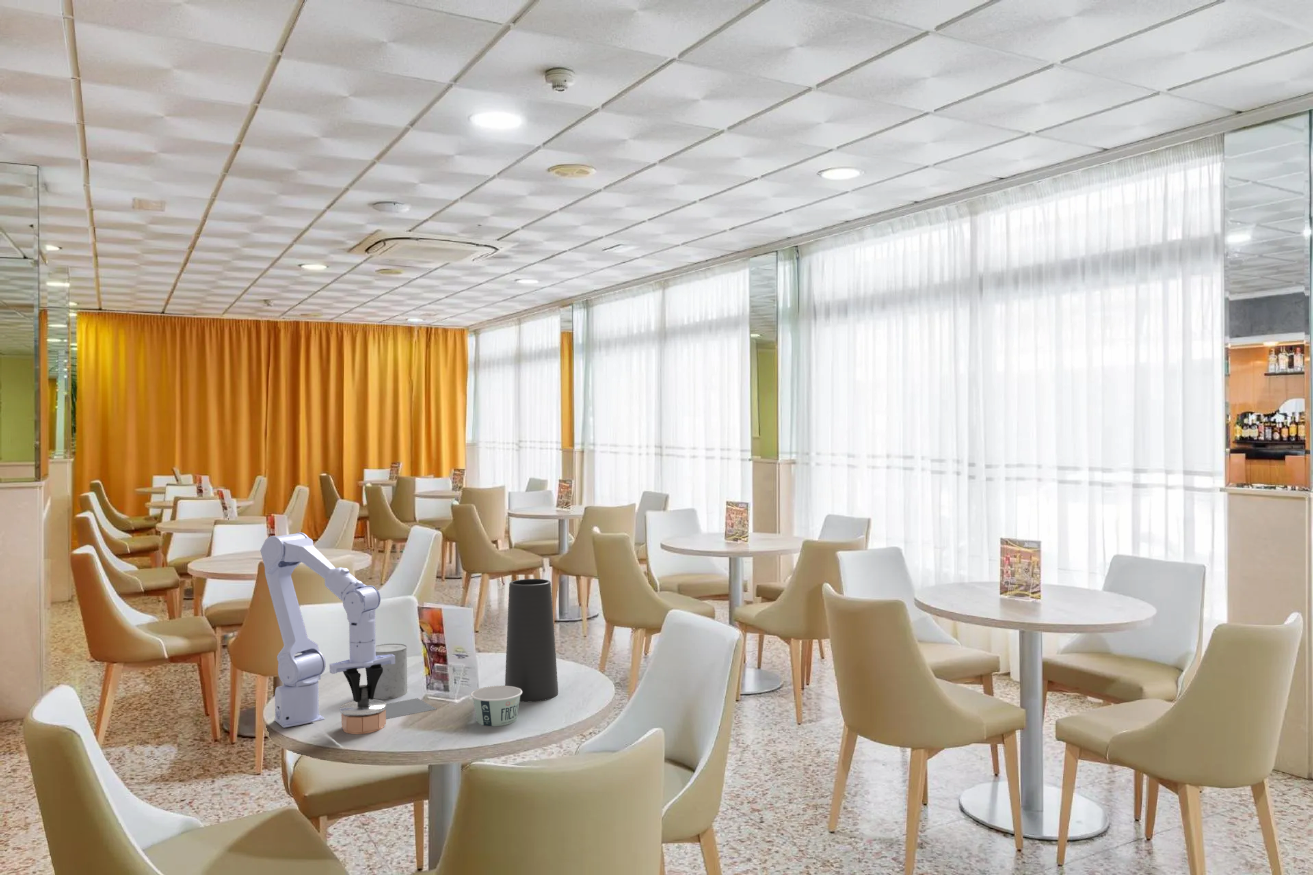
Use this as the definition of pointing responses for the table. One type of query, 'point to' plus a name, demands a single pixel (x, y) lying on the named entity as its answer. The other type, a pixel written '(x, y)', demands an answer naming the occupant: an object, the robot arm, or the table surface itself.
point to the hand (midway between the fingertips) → (363, 699)
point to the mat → (406, 708)
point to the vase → (531, 640)
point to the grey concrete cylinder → (392, 672)
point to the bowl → (363, 723)
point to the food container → (496, 705)
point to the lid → (363, 704)
